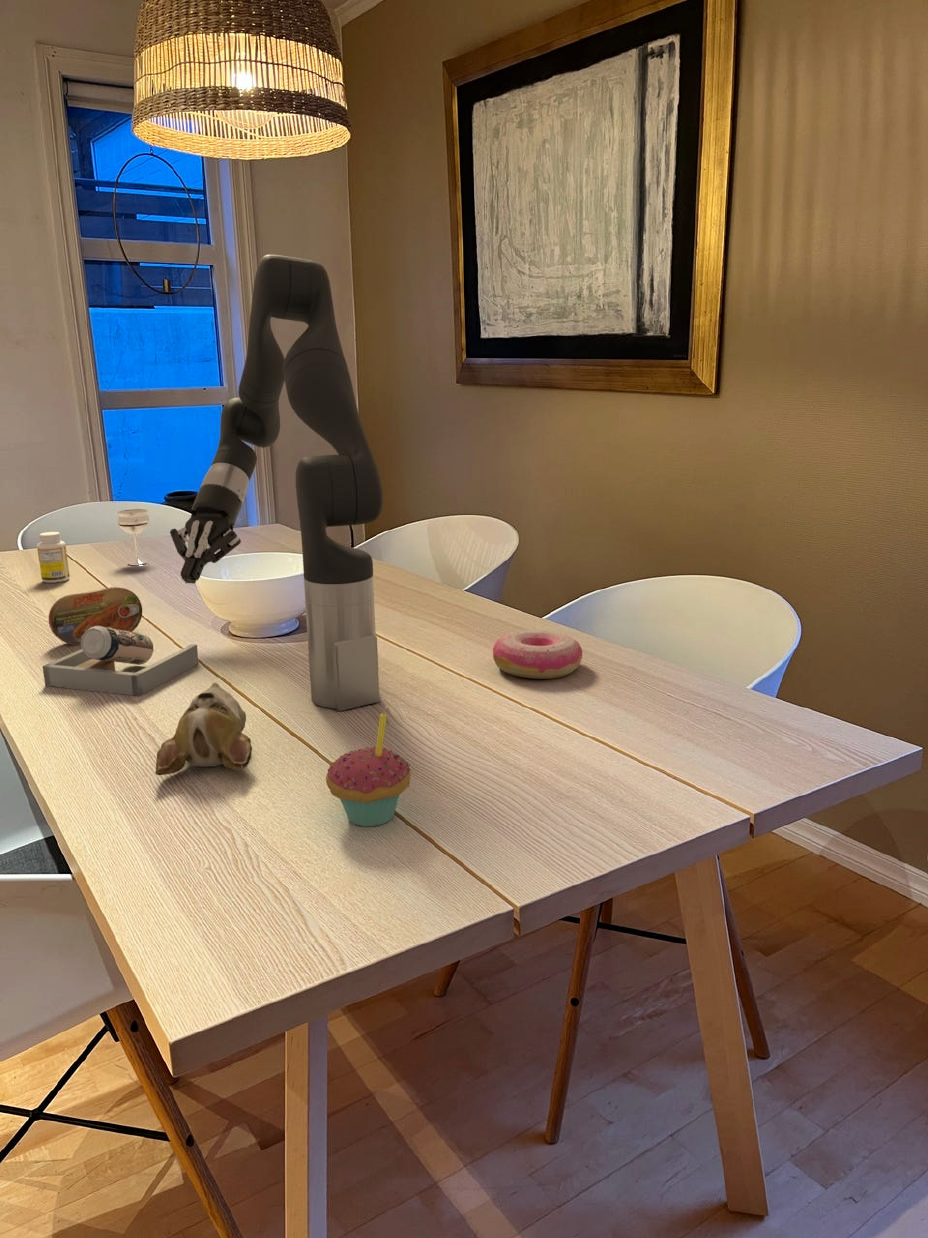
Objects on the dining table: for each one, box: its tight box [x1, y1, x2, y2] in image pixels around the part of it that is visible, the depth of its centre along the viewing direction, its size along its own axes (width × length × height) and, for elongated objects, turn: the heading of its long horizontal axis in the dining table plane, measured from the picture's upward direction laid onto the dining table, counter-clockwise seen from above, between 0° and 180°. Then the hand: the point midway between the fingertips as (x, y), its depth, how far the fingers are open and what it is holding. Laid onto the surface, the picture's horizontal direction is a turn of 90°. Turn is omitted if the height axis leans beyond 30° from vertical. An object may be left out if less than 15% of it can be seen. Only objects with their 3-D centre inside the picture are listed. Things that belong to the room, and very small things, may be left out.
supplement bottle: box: [36, 531, 71, 584], centre depth 200 cm, size 6×6×10 cm
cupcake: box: [325, 706, 411, 827], centre depth 96 cm, size 9×8×12 cm
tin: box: [48, 586, 143, 646], centre depth 159 cm, size 15×3×8 cm, turn 129°
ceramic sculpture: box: [155, 682, 253, 776], centre depth 110 cm, size 11×9×15 cm
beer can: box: [80, 626, 154, 666], centre depth 140 cm, size 5×5×12 cm
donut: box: [492, 629, 583, 680], centre depth 141 cm, size 14×13×5 cm
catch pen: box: [42, 643, 200, 697], centre depth 141 cm, size 15×16×3 cm
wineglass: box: [117, 508, 150, 564], centre depth 216 cm, size 7×7×12 cm
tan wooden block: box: [75, 659, 116, 671], centre depth 138 cm, size 4×4×3 cm
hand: (187, 580), depth 154 cm, fingers closed
